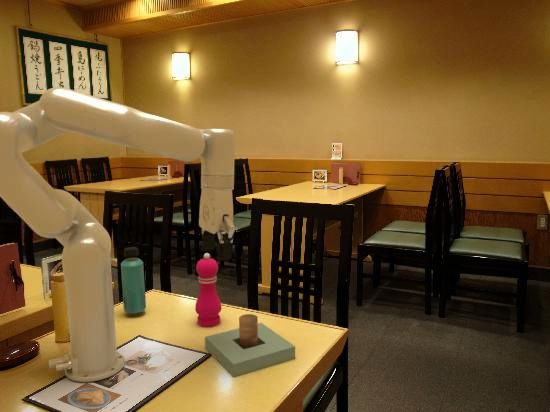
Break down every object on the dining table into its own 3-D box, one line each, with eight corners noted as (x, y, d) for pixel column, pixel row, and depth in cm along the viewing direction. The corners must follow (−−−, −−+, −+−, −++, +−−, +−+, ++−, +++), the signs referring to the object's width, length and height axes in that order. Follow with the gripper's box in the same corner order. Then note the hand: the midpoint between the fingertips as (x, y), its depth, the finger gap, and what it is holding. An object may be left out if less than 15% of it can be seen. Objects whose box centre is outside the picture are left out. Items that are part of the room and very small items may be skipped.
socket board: (234, 377, 102) (233, 364, 101) (205, 348, 115) (204, 336, 115) (295, 358, 110) (295, 346, 110) (261, 333, 124) (261, 322, 123)
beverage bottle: (151, 312, 138) (148, 246, 135) (133, 320, 133) (129, 251, 129) (136, 308, 142) (132, 244, 138) (118, 315, 136) (114, 248, 133)
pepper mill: (208, 330, 126) (206, 258, 123) (190, 323, 130) (187, 253, 127) (227, 321, 132) (225, 252, 128) (208, 315, 136) (206, 248, 133)
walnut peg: (245, 359, 110) (244, 322, 108) (236, 351, 114) (235, 316, 112) (261, 354, 112) (260, 318, 111) (252, 347, 116) (252, 312, 114)
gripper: (189, 179, 114) (188, 248, 116) (217, 187, 99) (215, 265, 101) (217, 178, 117) (216, 245, 120) (248, 186, 103) (246, 262, 105)
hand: (216, 254), depth 111 cm, fingers open, 9 cm apart
